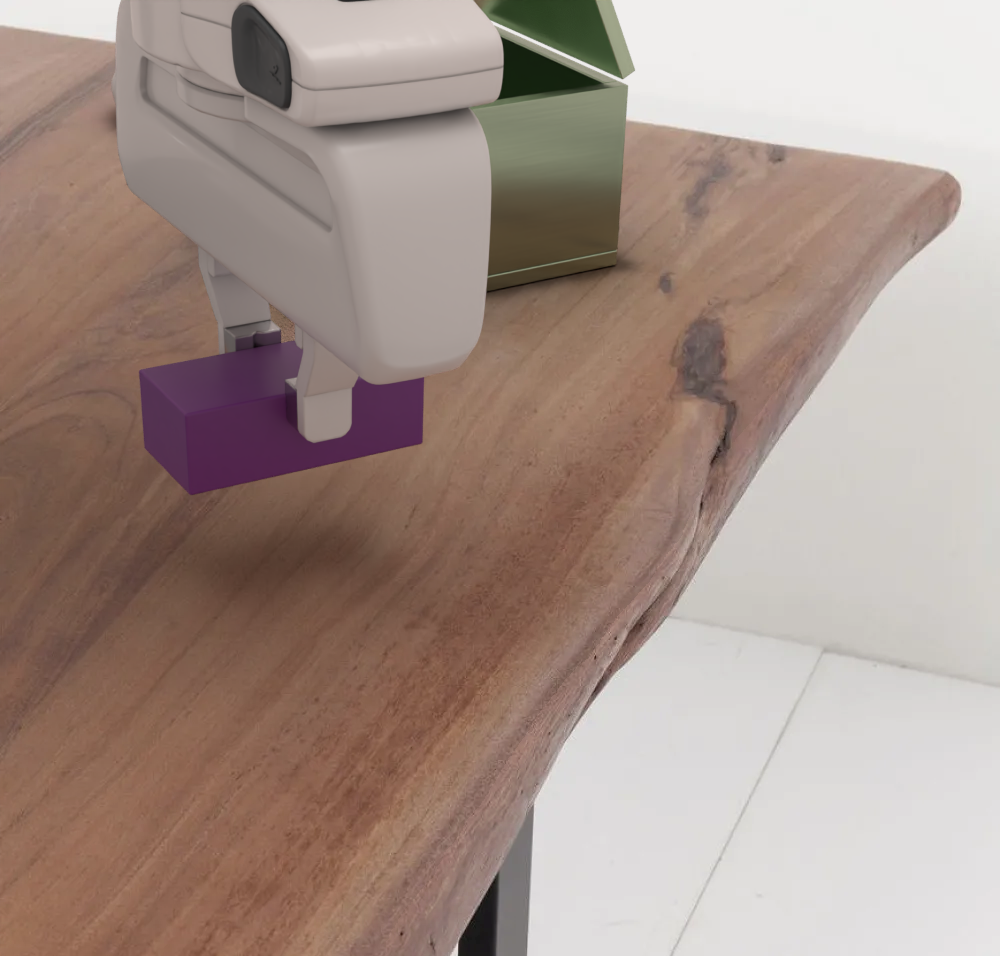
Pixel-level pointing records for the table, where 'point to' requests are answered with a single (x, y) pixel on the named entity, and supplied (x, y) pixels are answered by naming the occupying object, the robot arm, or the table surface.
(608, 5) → the green box lid
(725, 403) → the table surface
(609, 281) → the table surface
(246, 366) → the purple rectangular block
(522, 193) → the green metal box
